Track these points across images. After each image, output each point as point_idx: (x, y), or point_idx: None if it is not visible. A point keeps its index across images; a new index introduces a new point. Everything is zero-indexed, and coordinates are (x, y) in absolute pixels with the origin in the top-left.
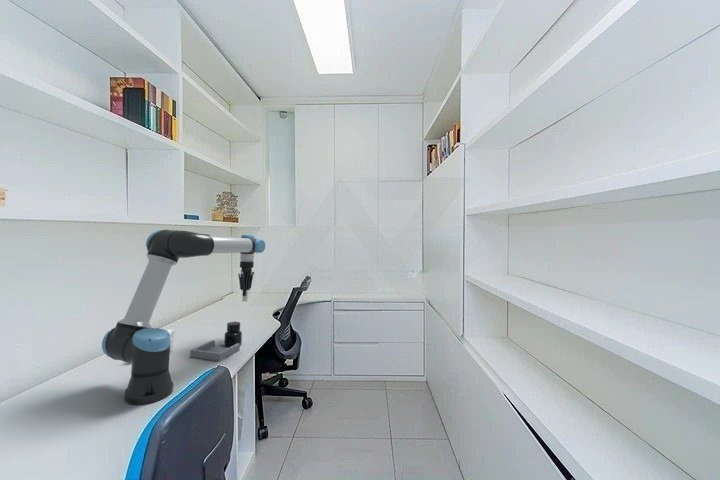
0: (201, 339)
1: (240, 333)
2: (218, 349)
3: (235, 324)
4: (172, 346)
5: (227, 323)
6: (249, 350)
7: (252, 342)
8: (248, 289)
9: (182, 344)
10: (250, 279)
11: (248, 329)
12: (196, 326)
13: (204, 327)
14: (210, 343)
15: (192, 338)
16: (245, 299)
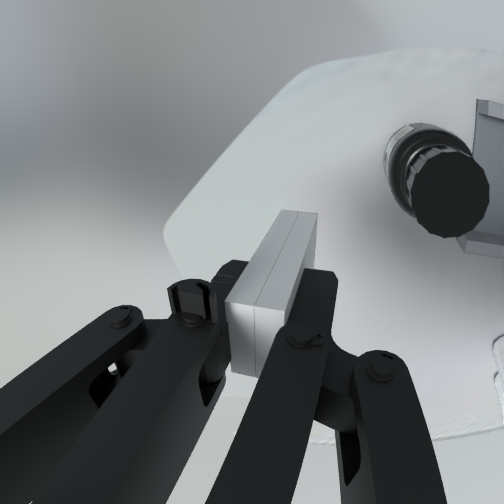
0: (377, 320)
1: (437, 131)
2: (493, 193)
3: (476, 171)
4: (502, 345)
5: (462, 233)
6: (463, 54)
7: (360, 84)
8: (217, 309)
9: (437, 345)
10: (9, 452)
11: (186, 208)
12: (242, 387)
13: None
14: (492, 242)
15: (370, 350)
16: (313, 240)
